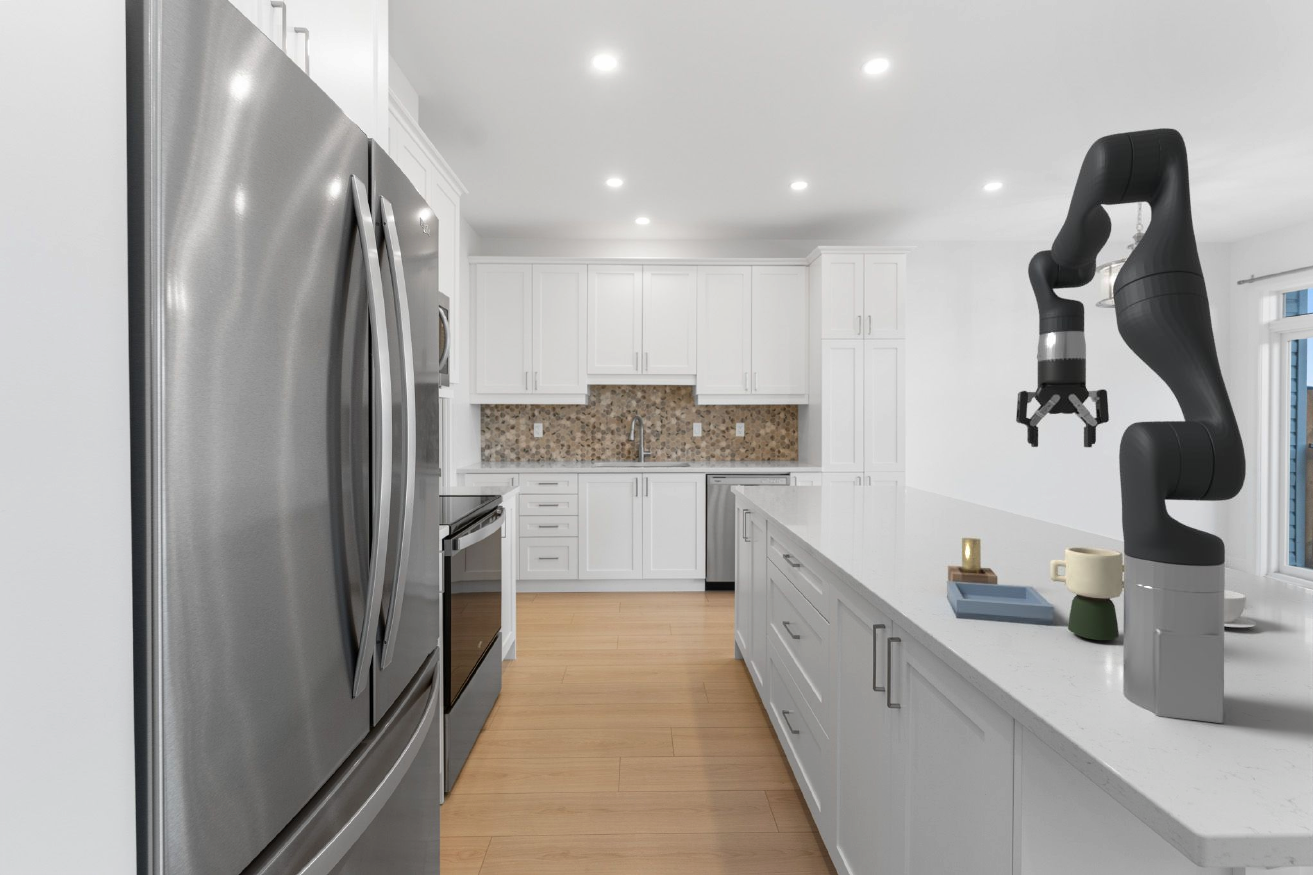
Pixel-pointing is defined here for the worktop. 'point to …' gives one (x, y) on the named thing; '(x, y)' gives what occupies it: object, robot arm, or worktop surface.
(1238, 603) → the teacup
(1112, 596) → the character mug
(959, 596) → the tray
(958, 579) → the bracket
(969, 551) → the pin
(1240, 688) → the worktop surface
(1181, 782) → the worktop surface
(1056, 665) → the worktop surface
